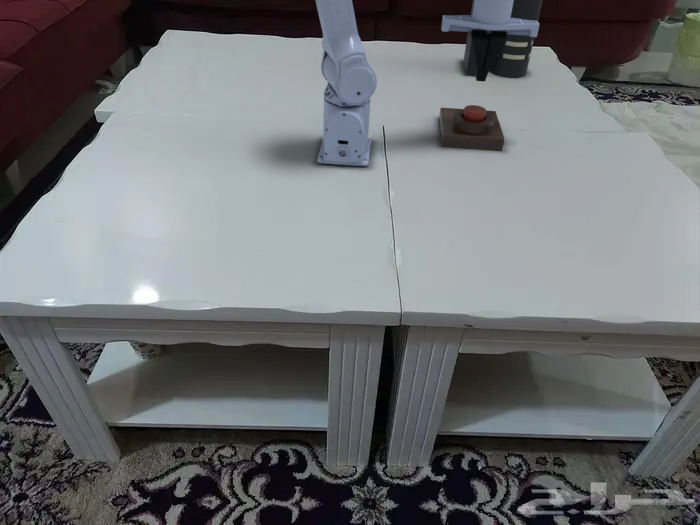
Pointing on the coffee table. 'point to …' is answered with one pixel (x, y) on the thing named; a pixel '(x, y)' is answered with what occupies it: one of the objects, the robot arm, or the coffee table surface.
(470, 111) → the button
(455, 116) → the switch block
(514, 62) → the light fixture
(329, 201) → the coffee table surface
